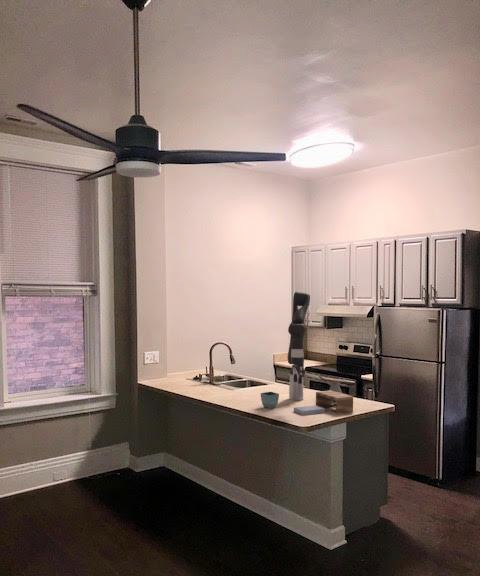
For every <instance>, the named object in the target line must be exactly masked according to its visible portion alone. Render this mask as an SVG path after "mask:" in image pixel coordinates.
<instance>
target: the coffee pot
mask: <svg viewBox="0 0 480 576" xmlns="http://www.w3.org/2000/svg"><path fill="white" fill-rule="evenodd" d="M317 379H320V380H322V381H323V382H324V383H326V384H328V385H329V386H330V387H329V389H328V391H329V390H331V391H335V392H339V393H343V392H342V390H341V387H340V383H341V381H337V380H336V381H335V380H332V381H330V382H328V381H327V380H326V379H325V378H323V377H322V376H320V375H319V376H318V377H317ZM332 403H336V400H334V399H332Z"/></svg>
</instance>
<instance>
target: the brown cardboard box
mask: <svg viewBox="0 0 480 576" xmlns="http://www.w3.org/2000/svg"><path fill="white" fill-rule="evenodd" d="M332 399H334V400H336V402H332ZM315 405H316V406H319V407H322V408H325V409H326V408H335V413H336V414H337V415H340V414H346V413H353V412H354V395H350V394H346V393H344V392H342V393H339V392H335V391H331V390H329V389H328V390H321V391H315Z"/></svg>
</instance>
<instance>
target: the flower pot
mask: <svg viewBox="0 0 480 576" xmlns="http://www.w3.org/2000/svg"><path fill="white" fill-rule="evenodd" d="M259 394H260V400H261V403H262V406H263V407H264V408H266V409H272V408H273V409H274V408H276V407H277V406H278V403H279V398H280V393H279V392H274V391H266V392H260V393H259Z"/></svg>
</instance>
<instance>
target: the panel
mask: <svg viewBox="0 0 480 576" xmlns="http://www.w3.org/2000/svg"><path fill="white" fill-rule="evenodd" d="M293 412H294V413H297V414H298V415H301V416H307V415H309V416H310V415H316V414H325V412H326V408H324V407H323V406H322V407H319V406H316V404H314V405H306V406H297V407H296V406H295V407H293Z"/></svg>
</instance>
